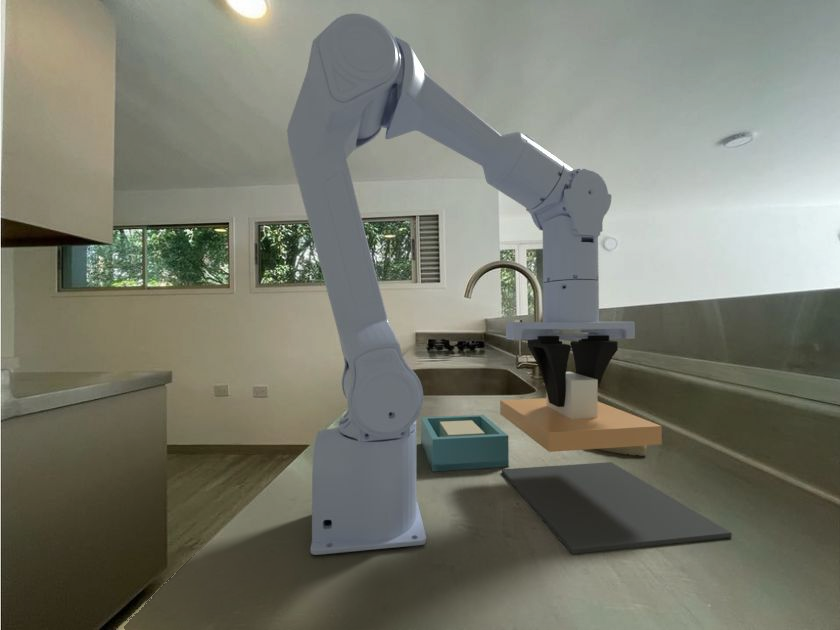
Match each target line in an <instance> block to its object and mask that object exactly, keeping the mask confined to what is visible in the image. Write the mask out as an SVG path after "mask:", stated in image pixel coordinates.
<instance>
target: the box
mask: <svg viewBox="0 0 840 630" xmlns="http://www.w3.org/2000/svg"><path fill="white" fill-rule="evenodd" d="M420 425H421V426H420V431H421V434H420V436H421V437H420V440H421V441H420V442H421V446H422V448H423V449H422V450H423V451H424V453H425V456H426V459H427V461H428V464H429V466H430V468H431V472H433V473H434V472H445V471H446V472H449V471H461V470H462V471H463V470H464V471H465V470H478V469H494V468H495V469H496V468H508V467H510V466H509V465H510V464H509V461H510V459H509V458H510V457H509V454H510V453H509V435H508V434H507V433H506V432H505V431H503V429H501V428H500V427H498V425H496V424H495V423H494V422H493V421H492V420H490V418H488V417H487V416H485V415H484V414H471V415H470V414H469V415H446V416H445V415H444V416H424V417H423V416H422V417H421V418H420Z"/></svg>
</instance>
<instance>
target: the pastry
mask: <svg viewBox="0 0 840 630" xmlns="http://www.w3.org/2000/svg"><path fill="white" fill-rule="evenodd" d="M647 447H648V445H645V446H630V447H615V448H600V449H598V450H600V451H603V452H607V453H614V454H620V455H621V454H623V455H627V454H629V456H635V455H639V456H638V457H642V456H643V457H644V456H646V453H647V452H648V448H647Z"/></svg>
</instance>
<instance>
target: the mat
mask: <svg viewBox="0 0 840 630" xmlns="http://www.w3.org/2000/svg"><path fill="white" fill-rule="evenodd" d="M501 473H502V474H503V476H505V479H507V480H508V481H509V483H511V485H512V487H514V489H515V490H516V491H517V492H518V494H520V495H521V497H522V498H523V499H524V500H525V501H526V502H527V504H528V505H529V506H530V507H531V508H532V509H533V510H534V511H535V513H536V514H537V515H538V516H539V517H540V518H541V520H542V521H543V523H545V525H547V527H548V528H549V529H550V530H551V531H552V533H554V535H555V536H556V538H558V539H559V541H560V542H561V543H562V544H563V545H564V546H565V547H566V548H567V550H568V551H569V552H570V554H572V555H577V554H578V555H579V554H586V553H596V552H605V551H606V552H607V551H616V550H623V549H634V548H644V547H654V546H663V545H671V544H680V543H692V542H700V541H711V540H719V539H729V538H733V537H732V533H733V532H731V531H730V530H728V529H726V528H725V527H722V526H721V525H719V524H717V523H716V522H714V521H712V520H710V519H708V518H707V517H705V516H704V515H703V514H701V513H699V512H697V511H696V510H693V509H691V508H690V507H689V506H687V505H685V504H683V503H681V502H680V501H678V500H676V499H675V498H674V497H671V496H670V495H668V494H666V493H664V492H663V491H661V490H660V489H658V488H656V487H654V486H653V485H651V484H649V483H648V482H646V481H644V480H643V479H641V478H639V477H638V476H636V475H633V473H631V472H629V471H627V470H626V469H625V468H623V467H620V466H618V465H617V464H615V463H613V462H612V461H610V462H595V463H591V462H590V463H579V464H564V465H563V464H562V465H561V464H560V465H548V466H534V467H531V466H530V467H519V468H504V469H503V468H502V469H501Z"/></svg>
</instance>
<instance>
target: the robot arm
mask: <svg viewBox="0 0 840 630" xmlns="http://www.w3.org/2000/svg"><path fill="white" fill-rule="evenodd" d="M309 53H310V54H309V58H308V62H307V63H308V64H307V70H306V73H305V76H304V79H303V82H302V84H301V87H300V90H299V93H298V96H297V99H296V102H295V104H294V108H293V110H292V114H291V116H290V119H289V122H288V125H287V130H286V132H287V133H286V134H287V135H286V136H287V143H288V147H289V153H290V157H291V161H292V164H293V169H294V172H295V176H296V180H297V185H298V187H299V192H300V194H301V198H302V202H303V205H304V206H303V207H304V211H305V214H306V217H307V221H308V224H309V227H310V231H311V232H310V233H311V236H312V240H313V243H314V247H315V251H316V255H317V259H318V263H319V266H320V269H321V273H322V276H323V277H322V278H323V280H324V281H323V282H324V285H325V288H326V293H327V296H328V300H329V304H330V307H331V311H332V314H333V317H334V321H335V326H336V330H337V333H338V334H337V335H338V338H339V345H340V347H341V352H342V355H343V360H344V368H343V373H342V377H341V390H342V392H343V395H344V397H345V399H346V400H347V401H346V402H347V408H348V409H347V410H346V412H345V414H344V415H343V418H340V419H339V420H338V421H339V422H338V426H337V427H333V428H325V429H324V428H323V429H320V430H318V431H317V434H316V436H315V437H316V438H315V441H314V447H313V457H312V469H311V470H312V471H311V472H312V473H311V476H312V478H311V483H312V485H311V488H312V489H311V490H312V491H311V493H312V494H311V544H310V554H311V555H313V556H316V555H317V556H318V555H327V554H328V555H329V554H339V553H349V552H350V553H351V552H352V553H353V552H361V551H370V550H381V549H393V548H403V547H412V546H422V545H425V544H426V543H427V534H426V531H425V526H424V522H423V518H422V515H421V511H420V507H419V503H418V499H417V419H418V417H419V416H420V413H421V411H422V409H423V405H424V390H423V385H422V383H421V380H420V378H419V377H418V375H417V374H416V373H415V370H413V369H412V368H411V367H410V365H409V364H408V363H407V362H406V360H405V359H404V356H403V352H402V349H401V345H400V342H399V339H398V337H397V336H396V334H395V332H394V330H393V328H392V326H391V324H390V322H389V319H388V315H387V311H386V308H385V303H384V300H383V295H382V293H381V288H380V285H379V281H378V277H377V272H376V270H375V269H376V268H375V266H374V262H373V256H372V254H371V249H370V246H369V242H368V238H367V235H366V230H365V227H364V221H363V218H362V215H361V211H360V207H359V204H358V200H357V196H356V192H355V188H354V184H353V181H352V176H351V173H350V169H349V165H348V160H347V159H348V158H349V156H351V155H352V153H353V151H355V150H357V149H359V148H361V147H363V146H364V145H367V144H368V143H370V142H371V141H373V140H374V139H375V138H377V136H379V134H380V132H381V131H382V128H385V129H386V130H385V138H384V139H386V140H391V139H394V138H397V137H399V136H403V135H406V134H409V133H412V132H415V131H416V132H419V133H421V134H423V135H425V136H427V137H428V138H430V139H432V140H434V141H435V142H438V143H440V144H441V145H443V146H444V147H447V148H448V149H451V150H452V151H454V152H455V153H457V154H460V155H461V156H463V157H465V158H467V159H469V160H471V161H472V162H474V163H476V164H478V165H480V166H482V169H483V173H484V178H485V181H486V183H487V184H488V185H490V186H492V188H494V189H495V190H497V191H498V192H501V193H502V194H503V195H505V196H507V197H508V198H510V199H512V201H515V202H516V203H518V204H519V205H521V206H522V207H524V208H525V211H526V212H527V213H529V214H530V216H531V218H532V221H533V223H534V225H535V226H536V228H537V229H538V230H539V231H542V293H543V295H542V296H543V297H542V301H543V304H542V305H543V306H542V307H543V309H542V310H543V312H542V313H543V321H507V322H505V339H506V340H509V341H510V340H511V341H523V340H527V348H528V350H529V352H530V353H531V355H532V356H533V358H534V360H535V362H536V364H537V367H538V368H539V371H540V374H541V377H542V380H543V383H544V387H545V391H546V396H547V395H548V400H549V403H550V404H553V405H555V406H557V407H564V404H565V396H566V380H565V379H566V372H567V367H568V361H569V357H570V352H571V351H572V355H573V360H574V366H575V373H576V374H580V375H583V376H587V377H590V378H593V379H597V380H598V390H599V389H600V385H601V382H602V380H603V376H604V374H605V371H606V369H607V368H608V366H609V363H610V362H611V360H612V359H613V358H614V356H615V354H616V353H617V351H618V350H619V349H618V348H619V343H618V340H610V339H627V340H628V339H633V340H634V339H636V337H635V335H636V333H635V331H636V328H635V327H636V325H635V321H600V294H599V293H600V292H599V291H600V288H599V286H600V283H599V281H600V280H599V236H601V232H603V231H604V230H603V222H604V218H605V215H606V214H608V211H609V210H610V207H611V205H612V194H610V193H609V191H608V190H609V189H608V187H607V184H606V182H605V180H604V179H603V177H602V176H601V175H600V174H599V173H598V172H596V171H594V170H590V169H586V168H582V169H581V168H576V169H574V168H572V167H570V166H569V165H568V164H566V163H565V162H563V161H562V160H560V159H559V158H557V157H556V156H555V155H554V154H551V152H549V151H548V150H546V149H545V148H543V147H542V146H540V145H539V144H538V143H536V140H535V139H534V138H533V137H531V136H530V135H528V134H523V133H522V132H520V131H515V132H510V133H505V134H501V133H499V132H498V131H497V130H496V129H494V128H493V127H492V126H491V125H490V124H488V123H487V122H486V121H485V120H483V119H482V118H481V117H480V116H478V115H477V114H476V113H475V112H474V111H473V110H471V109H470V108H469V107H468V106H466V104H464V103H463V102H461V101H460V100H459V99H458V98H456V97H455V96H454V95H453V94H452V93H450V92H449V91H448V90H446V89H445V87H443V86H442V85H440V84H439V82H437V81H436V80H435V79H433V78H432V77H431V76H429V75H428V74H427V72H426V71H425V69H424V67H423V65H422V64H421V62H420V60H419V59H418V56H417V55H416V53H415V51H414V50H413V48H412V46H411V45H410V44H409V43H408V42H407V41H405V40H403V39H401V38H400V37H398V36H394V35H393V34H392V33H391V31H390V30H389V29H388V28H387V27H386V26H385V25H384V24H383V23H382V22H380V21H378V19H375V18H373V17H371V16H369V15H366V14H361V13H346V14H343V15H340V16H339V17H336V18H335V19H334V20H333V21H332V22H331V23H330V24H329V25H327V27H326V28H324V29H323V30H322V31H321V32H320V33H319V34H318V35H317V36H316V37H315V38H314V39H313V40H312V43H311V48H310V52H309ZM561 330H565V331H566V330H567V331H569V330H570V331H571V330H573V331H575V330H576V331H577V330H579V331H580V332H581V334H580V333H577V334H573V333H572V334H571V333H567V334H566V333H565V334H560V331H561ZM574 339H575V340H574ZM562 340H572V341H570V344H566V343H563V341H562Z"/></svg>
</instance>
